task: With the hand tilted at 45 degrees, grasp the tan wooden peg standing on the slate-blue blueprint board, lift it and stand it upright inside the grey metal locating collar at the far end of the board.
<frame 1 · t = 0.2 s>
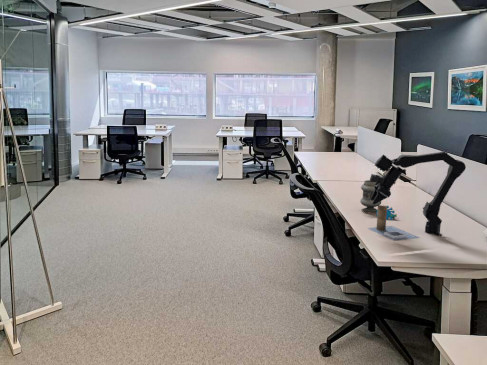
hand: (372, 202, 244), 15 cm above the table, tool tilted 35°, fingers open, 9 cm apart
metal collar: (395, 236, 233), resting on blueprint board
tan wooden peg: (380, 229, 246), point 1 cm above the table, touching blueprint board
blueprint board: (392, 234, 240), on the table
apothecary jar: (370, 211, 289), on the table
blue virus model: (385, 220, 268), on the table
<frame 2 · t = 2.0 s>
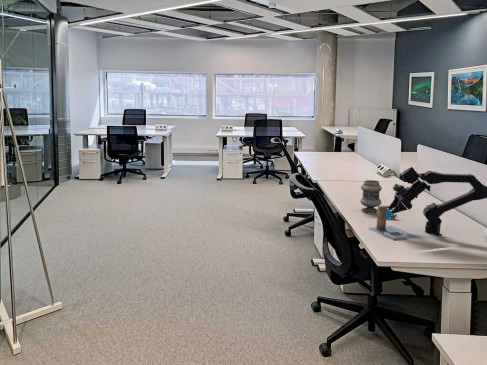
hand: (390, 210, 243), 11 cm above the table, tool tilted 45°, fingers open, 9 cm apart
nothing on the table moved.
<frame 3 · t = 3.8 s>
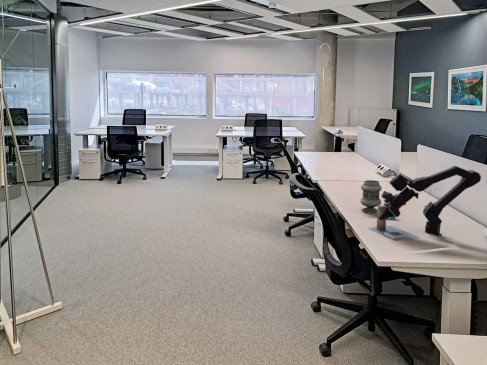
hand: (378, 218, 245), 7 cm above the table, tool tilted 45°, fingers closed on tan wooden peg, 4 cm apart
tan wooden peg: (380, 229, 246), point 1 cm above the table, touching blueprint board, gripper
everything else where it was.
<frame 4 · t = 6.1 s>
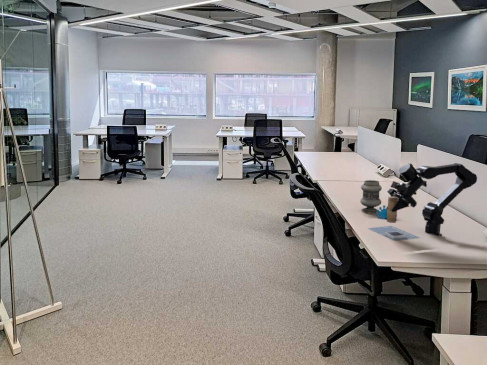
hand: (389, 210, 234), 13 cm above the table, tool tilted 45°, fingers closed on tan wooden peg, 4 cm apart
tan wooden peg: (391, 221, 235), point 8 cm above the table, touching gripper
everything else where it was.
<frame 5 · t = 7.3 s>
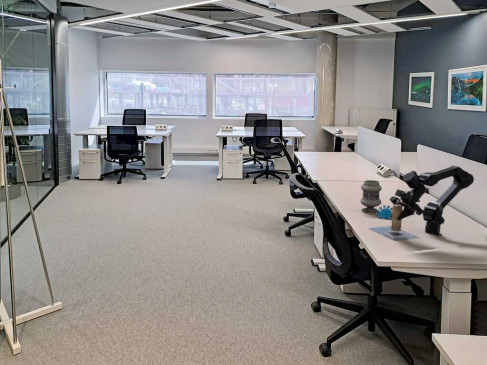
hand: (394, 218, 231), 10 cm above the table, tool tilted 45°, fingers closed on tan wooden peg, 4 cm apart
tan wooden peg: (396, 230, 233), point 4 cm above the table, touching gripper
everything else where it was.
when the fingers open (7 cm above the table, at t = 8.3 s): tan wooden peg stays where it is, resting on blueprint board.
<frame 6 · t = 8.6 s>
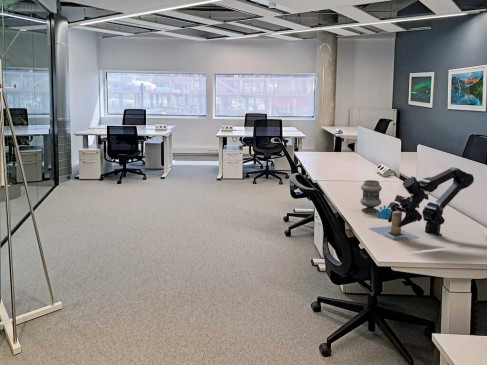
hand: (393, 224, 232), 7 cm above the table, tool tilted 45°, fingers open, 8 cm apart
tan wooden peg: (395, 236, 233), point 1 cm above the table, touching blueprint board
everything else where it was.
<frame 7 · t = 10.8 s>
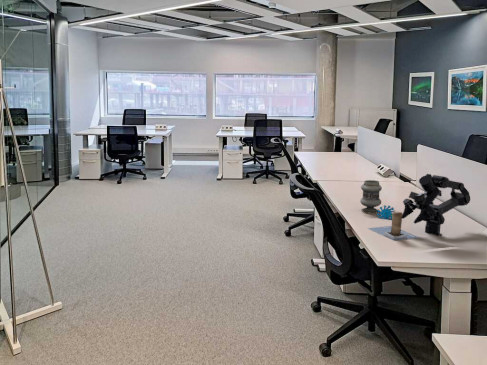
hand: (408, 220, 234), 9 cm above the table, tool tilted 45°, fingers open, 9 cm apart
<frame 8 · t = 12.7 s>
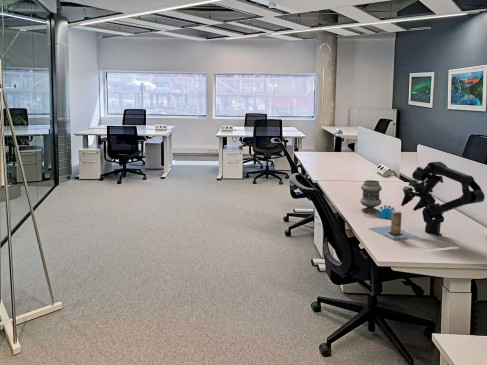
hand: (407, 207, 238), 14 cm above the table, tool tilted 45°, fingers open, 9 cm apart
at the end: tan wooden peg 0.0 cm off-centre on the metal collar, point 0.0 cm above the metal collar's base; tan wooden peg tilted 1°; the gripper is holding nothing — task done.
